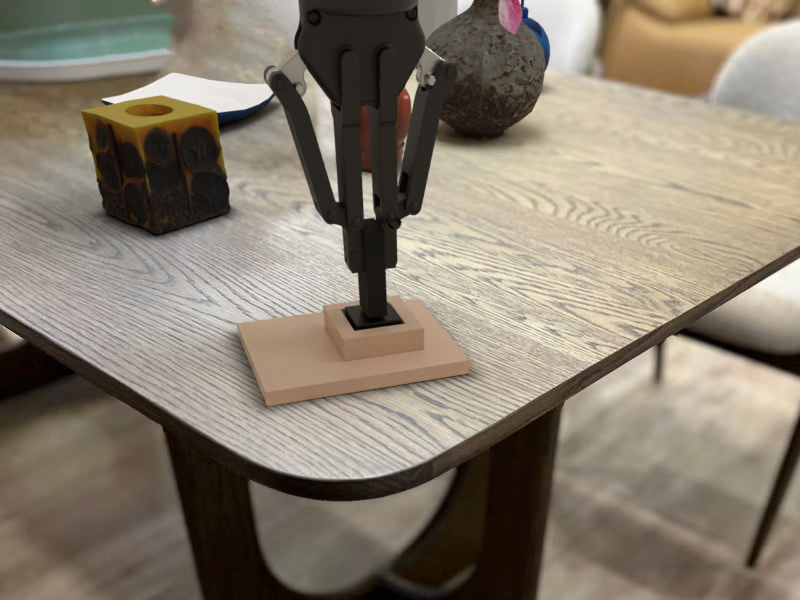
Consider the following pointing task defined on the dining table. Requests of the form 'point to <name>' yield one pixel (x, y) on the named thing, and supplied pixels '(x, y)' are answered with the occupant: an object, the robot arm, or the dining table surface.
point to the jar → (435, 14)
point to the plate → (205, 95)
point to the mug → (401, 130)
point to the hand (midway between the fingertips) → (373, 309)
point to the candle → (158, 162)
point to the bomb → (537, 32)
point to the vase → (489, 68)
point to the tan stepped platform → (347, 352)
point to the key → (362, 321)
